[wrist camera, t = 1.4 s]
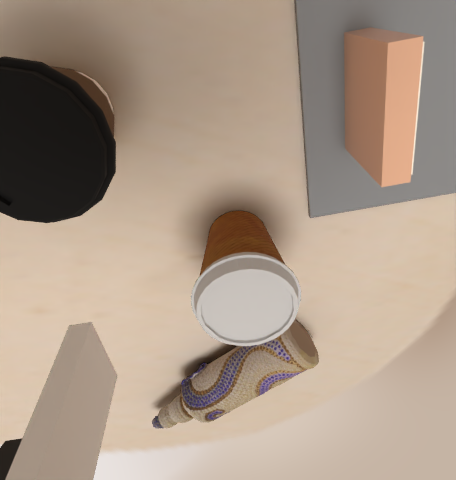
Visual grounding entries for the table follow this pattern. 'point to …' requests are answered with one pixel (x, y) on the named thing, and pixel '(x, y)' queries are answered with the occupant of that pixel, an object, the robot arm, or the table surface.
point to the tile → (382, 101)
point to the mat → (333, 101)
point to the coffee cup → (53, 141)
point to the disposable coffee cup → (244, 284)
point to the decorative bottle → (240, 377)
